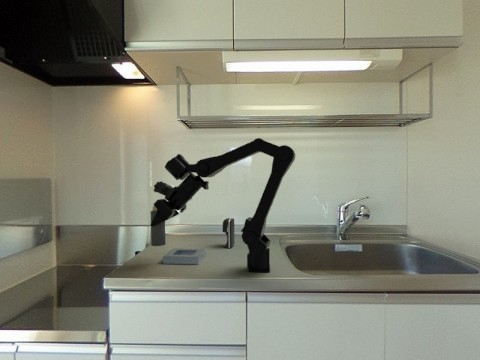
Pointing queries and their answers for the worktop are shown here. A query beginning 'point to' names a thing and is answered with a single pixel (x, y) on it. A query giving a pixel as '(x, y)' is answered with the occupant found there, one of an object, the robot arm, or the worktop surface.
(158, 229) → the plug
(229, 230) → the battery charger
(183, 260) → the housing
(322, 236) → the worktop surface
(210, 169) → the robot arm
